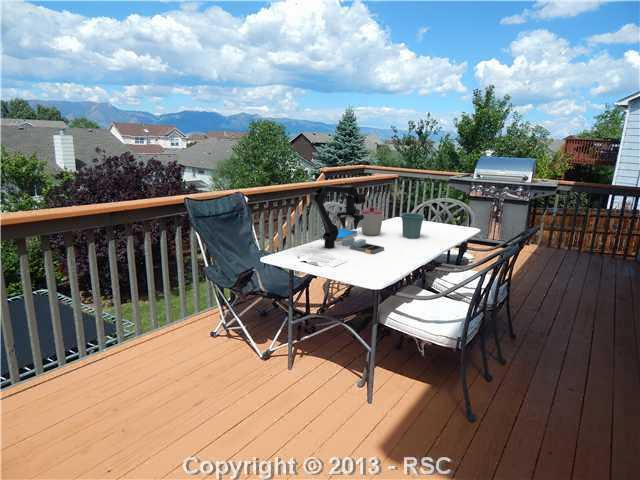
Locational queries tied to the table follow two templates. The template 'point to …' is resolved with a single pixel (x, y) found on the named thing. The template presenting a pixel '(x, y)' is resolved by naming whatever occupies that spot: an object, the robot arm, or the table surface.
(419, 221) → the flower pot
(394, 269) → the table surface
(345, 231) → the book
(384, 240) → the table surface
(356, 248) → the rack
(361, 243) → the fitted panel
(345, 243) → the panel
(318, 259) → the tray
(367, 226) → the grey plant pot
